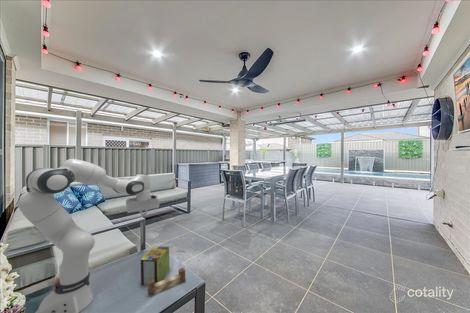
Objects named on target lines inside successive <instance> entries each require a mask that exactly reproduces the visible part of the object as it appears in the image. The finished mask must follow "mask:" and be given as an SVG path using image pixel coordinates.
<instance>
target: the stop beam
mask: <svg viewBox="0 0 470 313" xmlns="http://www.w3.org/2000/svg"><path fill="white" fill-rule="evenodd" d="M185 282H186V270H185V267H181V268H179V269H178V274H176V275H172V276H170V277H168V278H165V279H162V281H160V282H157V283H155V281H154V279H151V280H148V286H147V295H148V297H151V296H154V295H157V294H159V293H162V292H164V291H166V290H168V289H171V288H174V287H175V286H178V285H181V284H183V283H185Z"/></svg>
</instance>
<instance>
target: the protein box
mask: <svg viewBox="0 0 470 313" xmlns="http://www.w3.org/2000/svg"><path fill="white" fill-rule="evenodd" d="M169 271H170V246H163V245H162V246H161V245H160V246H159V245H154V246H153V247H152V248H151V249H150V250H149V251H148V252H146V253H145V255H143V257H142V258H141V259H140V285H141V286H147V287H148V280H151V279H154V281H155V283H157V282H160V281H162V280H164V278H165V276H166V275H167V273H168V272H169Z"/></svg>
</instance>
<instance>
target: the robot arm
mask: <svg viewBox="0 0 470 313" xmlns="http://www.w3.org/2000/svg"><path fill="white" fill-rule="evenodd" d="M73 182H77V183H80V184H84V185H88V186H99V185H101V186H104V187H108V188H110V189H112V191H114V192H115V193H117V194H123V195H127V196H134V195H135V197H131V198H128V199H126V200H125V204H126V212H127V213H128V214H130V213H136V212H139V213H140V217H141V218H144V217H147V213H148V212H149V210H154V209H159V207H160V200H159V198H158V194H157V193H155V192H154V193H153V192H151V189H150V188H151V176H150V175H149V174H148V173H136V175H135V176H134V177H132V178H131V179H128V178H123V177H122V178H116V177H113V176H110V175H107V170H106V169H104V168H103V167H101V166H99V165H98V164H96V163H93V162H88V161H85V160H81V159H77V158H69V159H67V160H65V161H64V162H62V163H61V165H60V166H59V167H58V168H52V167H41V168H36V169H34V170H32V171H30V172H29V173H28V174H27V176H26V180H25V184H26V188H25V189H26V191H27V194H25V195H23V196H22V197H21V198H20V199H19V200H18V201H17V207H18V209H19V211H20V212H21V214H22V215H23V216H24V217H25V218H26V220H27V221H28V222H29V223H31V224H32V225H33V226H34V227H35V228H36V229H38V231H39V232H41V233H42V234H43V235H44V236H45V237H46V239H48V240H49V242H51V243H52V244H53V245H54V246H55V247H56V248H57V249H59V250H60V251H61V252H62V260H61V263H60V265H59V267H58V268H59V269H58V274H59V275H58V276H59V278H56V279H55V281H54V286H53V290H52V291H51V292H50V293H49V294H48V295H47V296H45V297H44V298H43V300H42V301H41V302H40V304H39V307H38V309H37V310H36V311H35V312H34V313H80V312H82V311H83V310H84V309H85V308H87V307H88V306H89V305H90V304H91V303H92V302H93V299H94V294H93V293H92V289H91V287H90V286H91V285H90V284H91V274H90V271H89V258H90V253H91V250H92V249H93V248H94V247H95V243H96V239H95V237H94V236H93V235H92V234H91V233H90V232H88V231H87V230H84V229H83V228H81V227H80V226H79V225H78V224H77V223H76V221H74V219H73V218H72V215H71V214H70V213H69V212H68V211H67V210H66V209H65V208H64V207H63V206H62V205H61V204H60V202H58V200H57V199H56V197H55V194H59V193H62V192H64V191H65V190H67V189H68V188H69V187H70V185H72V183H73ZM143 211H145V212H143Z"/></svg>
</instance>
